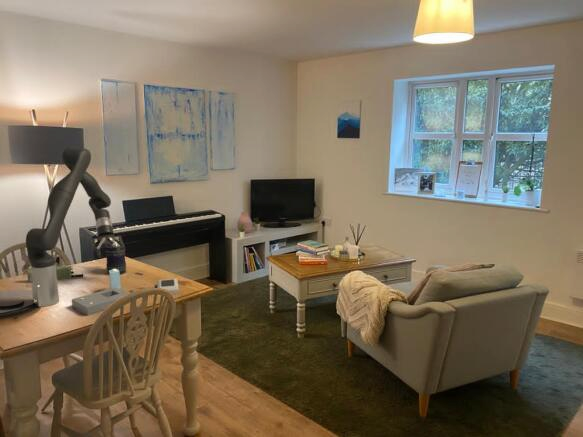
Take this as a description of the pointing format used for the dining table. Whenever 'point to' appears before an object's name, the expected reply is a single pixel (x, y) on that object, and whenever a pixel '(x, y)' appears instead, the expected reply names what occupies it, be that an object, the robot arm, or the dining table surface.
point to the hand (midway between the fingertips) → (109, 255)
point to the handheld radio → (58, 273)
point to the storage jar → (115, 259)
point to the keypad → (169, 285)
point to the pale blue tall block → (114, 278)
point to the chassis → (97, 300)
